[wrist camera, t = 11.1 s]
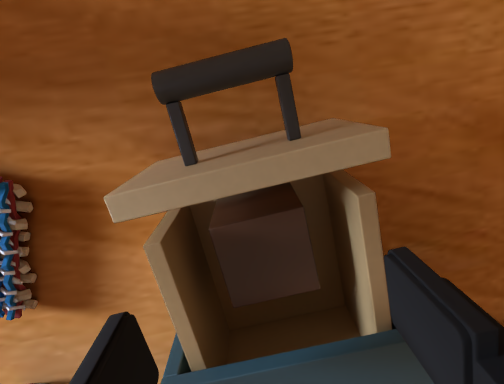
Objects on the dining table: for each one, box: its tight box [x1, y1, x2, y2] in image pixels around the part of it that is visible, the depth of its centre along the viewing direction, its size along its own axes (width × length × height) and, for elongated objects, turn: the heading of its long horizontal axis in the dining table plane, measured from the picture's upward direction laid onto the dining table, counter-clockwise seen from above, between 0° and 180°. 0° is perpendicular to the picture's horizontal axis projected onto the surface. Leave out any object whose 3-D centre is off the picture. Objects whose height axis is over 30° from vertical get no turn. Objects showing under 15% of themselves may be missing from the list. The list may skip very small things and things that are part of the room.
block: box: [209, 182, 320, 308], centre depth 17 cm, size 5×5×5 cm
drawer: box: [104, 38, 392, 372], centre depth 16 cm, size 18×11×7 cm, turn 14°
